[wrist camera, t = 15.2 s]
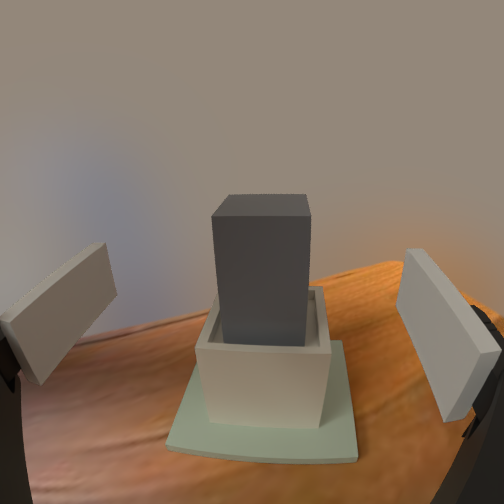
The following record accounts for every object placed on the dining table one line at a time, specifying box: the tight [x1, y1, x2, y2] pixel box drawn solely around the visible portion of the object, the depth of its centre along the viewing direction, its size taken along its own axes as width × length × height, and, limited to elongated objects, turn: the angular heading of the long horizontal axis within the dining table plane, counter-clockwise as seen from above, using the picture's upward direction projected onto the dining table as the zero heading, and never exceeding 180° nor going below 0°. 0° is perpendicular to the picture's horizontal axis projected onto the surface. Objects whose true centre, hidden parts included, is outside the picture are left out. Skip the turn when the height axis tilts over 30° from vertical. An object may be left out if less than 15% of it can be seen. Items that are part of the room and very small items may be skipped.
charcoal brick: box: [212, 194, 311, 347], centre depth 23 cm, size 6×6×10 cm
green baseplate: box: [165, 340, 358, 464], centre depth 29 cm, size 16×16×1 cm
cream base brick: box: [195, 286, 332, 429], centre depth 27 cm, size 10×10×9 cm
